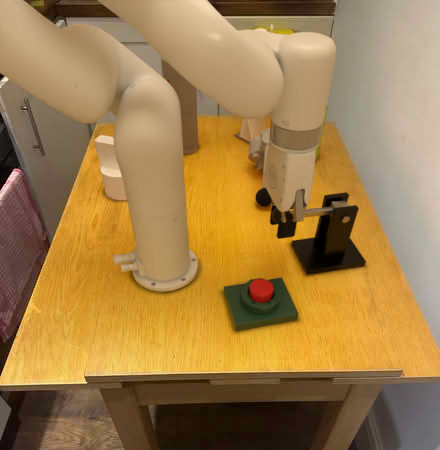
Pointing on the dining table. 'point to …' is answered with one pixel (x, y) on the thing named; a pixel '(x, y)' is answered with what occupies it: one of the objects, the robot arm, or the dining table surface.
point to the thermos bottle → (184, 106)
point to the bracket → (330, 240)
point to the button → (261, 290)
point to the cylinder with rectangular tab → (110, 168)
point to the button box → (259, 306)
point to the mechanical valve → (260, 164)
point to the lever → (312, 210)
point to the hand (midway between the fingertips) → (281, 229)
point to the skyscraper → (253, 126)
